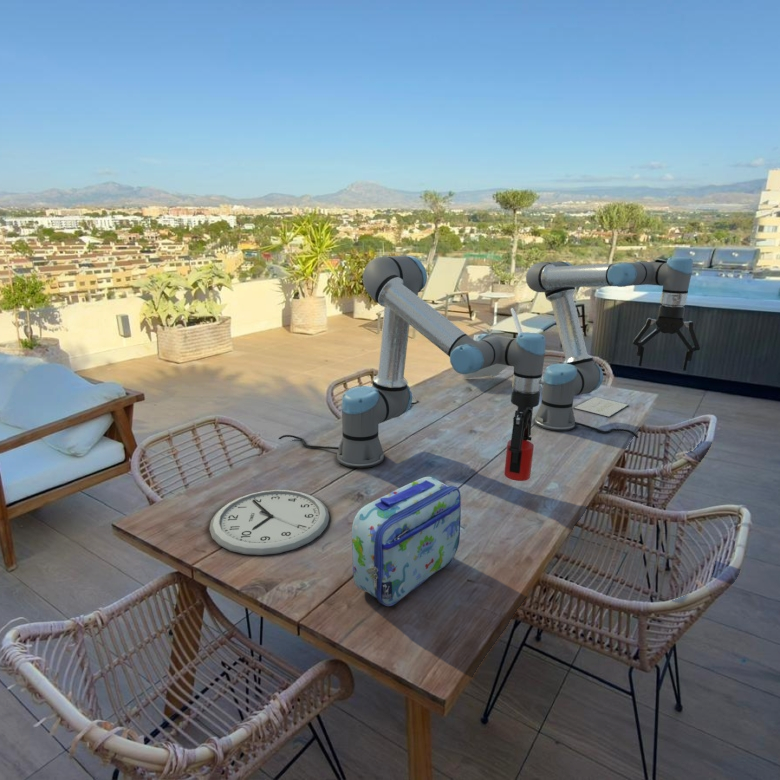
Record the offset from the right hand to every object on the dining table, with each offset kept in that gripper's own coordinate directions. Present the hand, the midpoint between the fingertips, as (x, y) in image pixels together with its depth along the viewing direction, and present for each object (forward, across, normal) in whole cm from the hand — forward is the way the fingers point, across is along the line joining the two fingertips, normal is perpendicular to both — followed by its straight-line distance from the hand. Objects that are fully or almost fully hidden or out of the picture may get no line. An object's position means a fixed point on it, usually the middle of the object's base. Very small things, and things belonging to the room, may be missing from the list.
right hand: (661, 367), depth 179 cm
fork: (+28, -92, +2) cm, 97 cm away
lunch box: (+28, -52, -106) cm, 121 cm away
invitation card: (+28, -17, +36) cm, 49 cm away
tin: (+23, -37, -57) cm, 72 cm away
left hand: (+20, -37, -57) cm, 71 cm away
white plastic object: (+28, -64, +49) cm, 86 cm away
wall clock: (+28, -92, -99) cm, 138 cm away
